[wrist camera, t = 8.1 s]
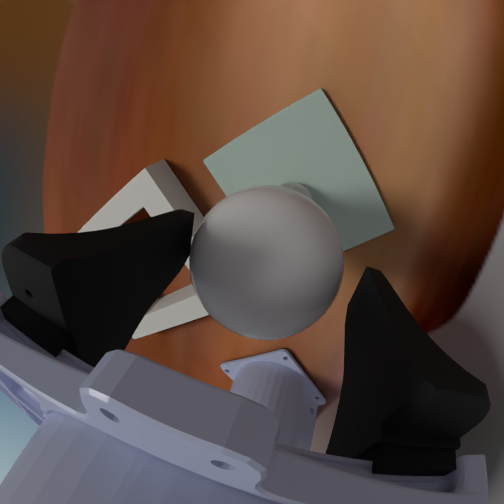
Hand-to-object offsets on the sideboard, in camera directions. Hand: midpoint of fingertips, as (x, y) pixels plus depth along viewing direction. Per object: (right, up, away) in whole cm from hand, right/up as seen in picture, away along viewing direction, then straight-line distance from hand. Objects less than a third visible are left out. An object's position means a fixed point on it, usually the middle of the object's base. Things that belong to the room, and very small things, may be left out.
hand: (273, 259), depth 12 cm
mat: (+2, +4, +7) cm, 9 cm away
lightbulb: (+2, +4, +7) cm, 8 cm away
